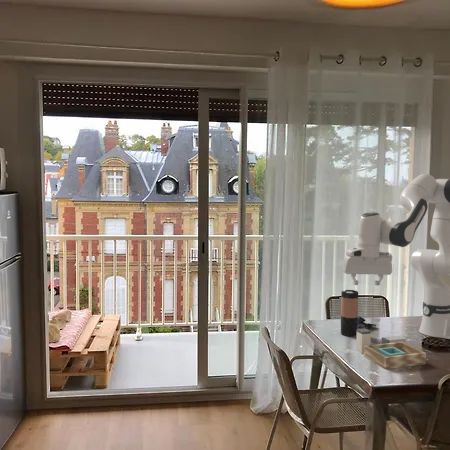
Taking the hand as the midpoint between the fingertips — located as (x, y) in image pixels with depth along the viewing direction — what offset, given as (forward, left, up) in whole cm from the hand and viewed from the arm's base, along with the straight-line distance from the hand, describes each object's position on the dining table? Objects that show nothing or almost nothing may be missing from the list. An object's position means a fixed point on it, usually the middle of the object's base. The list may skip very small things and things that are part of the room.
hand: (366, 284), depth 193 cm
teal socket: (-2, +15, -27) cm, 31 cm away
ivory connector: (+2, +2, -27) cm, 27 cm away
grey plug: (-14, +1, -27) cm, 31 cm away
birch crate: (-4, +14, -27) cm, 31 cm away
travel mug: (-5, -20, -27) cm, 34 cm away
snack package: (-17, -27, -28) cm, 42 cm away
